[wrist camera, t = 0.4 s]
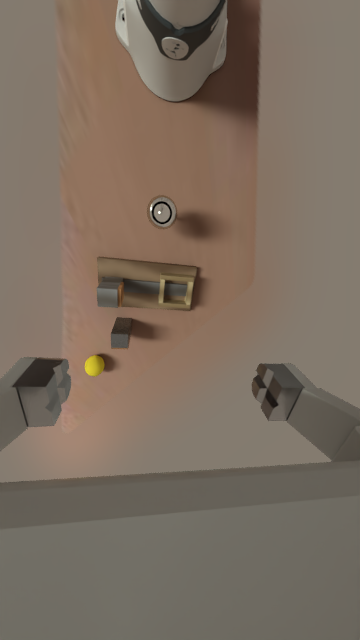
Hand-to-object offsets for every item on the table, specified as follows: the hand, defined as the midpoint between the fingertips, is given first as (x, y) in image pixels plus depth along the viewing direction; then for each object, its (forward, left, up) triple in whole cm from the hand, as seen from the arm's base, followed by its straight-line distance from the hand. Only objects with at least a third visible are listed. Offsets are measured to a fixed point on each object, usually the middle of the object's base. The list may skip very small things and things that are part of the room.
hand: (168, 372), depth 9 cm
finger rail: (+10, -1, -46) cm, 47 cm away
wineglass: (-7, +1, -46) cm, 47 cm away
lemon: (+35, -15, -46) cm, 60 cm away
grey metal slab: (+22, -7, -46) cm, 52 cm away
